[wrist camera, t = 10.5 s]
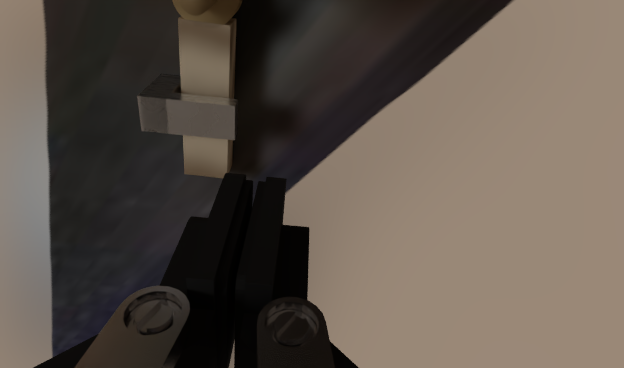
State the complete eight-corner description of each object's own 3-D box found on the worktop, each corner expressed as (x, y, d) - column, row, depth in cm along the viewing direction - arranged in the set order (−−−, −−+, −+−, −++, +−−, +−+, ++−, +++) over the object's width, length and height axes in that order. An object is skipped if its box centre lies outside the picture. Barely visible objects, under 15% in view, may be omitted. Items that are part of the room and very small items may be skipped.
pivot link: (179, -51, 32) (153, -47, 27) (244, -42, 32) (231, -36, 27) (187, 159, 41) (169, 190, 36) (237, 164, 42) (226, 196, 37)
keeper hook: (160, 73, 37) (137, 95, 32) (245, 82, 37) (234, 106, 32) (163, 105, 39) (141, 130, 34) (245, 113, 39) (234, 140, 34)
